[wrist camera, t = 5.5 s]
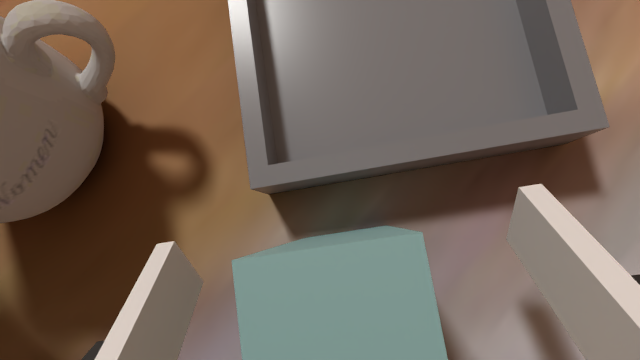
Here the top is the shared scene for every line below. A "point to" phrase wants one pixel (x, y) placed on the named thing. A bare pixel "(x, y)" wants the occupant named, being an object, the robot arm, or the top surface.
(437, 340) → the teal block
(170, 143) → the top surface
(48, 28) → the teacup
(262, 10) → the tray
